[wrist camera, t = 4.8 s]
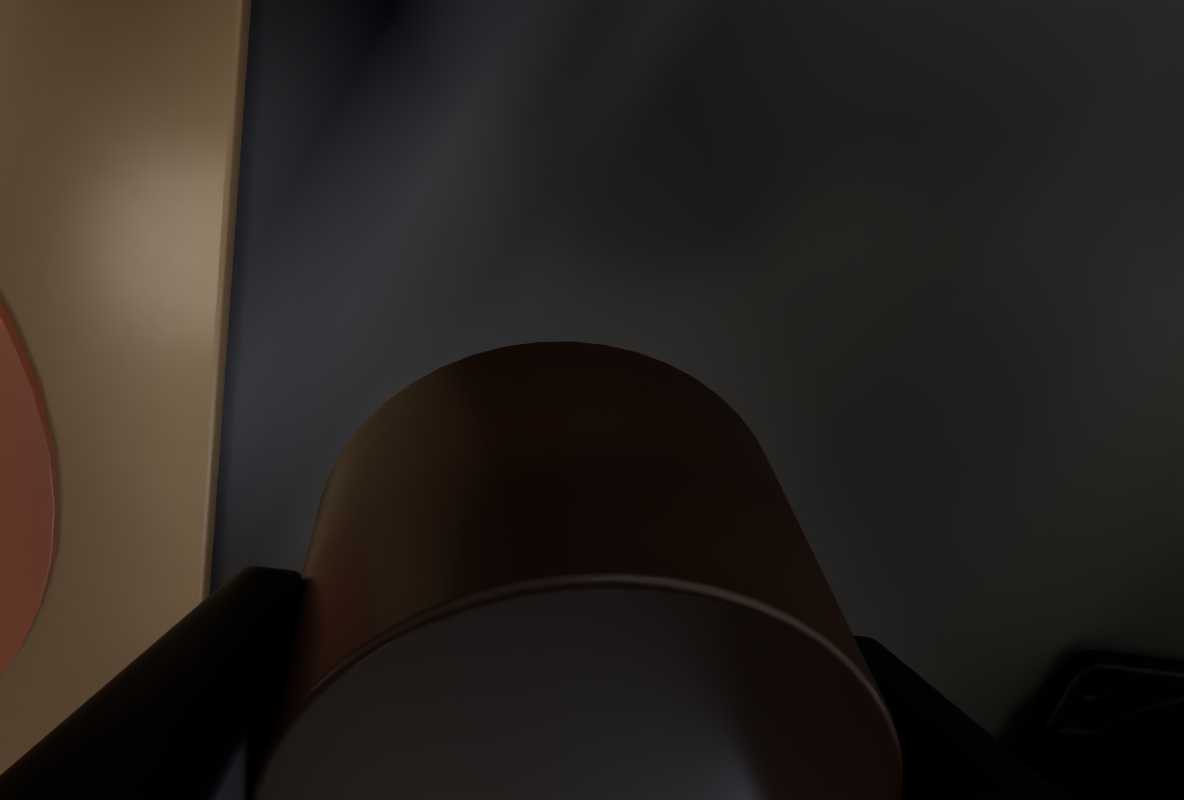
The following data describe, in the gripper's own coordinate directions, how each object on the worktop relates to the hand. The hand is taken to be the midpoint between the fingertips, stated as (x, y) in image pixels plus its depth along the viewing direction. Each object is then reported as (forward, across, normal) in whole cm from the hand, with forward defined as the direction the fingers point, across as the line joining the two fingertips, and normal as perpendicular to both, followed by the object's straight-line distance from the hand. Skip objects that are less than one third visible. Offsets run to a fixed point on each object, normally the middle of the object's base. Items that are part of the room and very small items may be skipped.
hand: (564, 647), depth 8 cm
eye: (+1, 0, 0) cm, 1 cm away
